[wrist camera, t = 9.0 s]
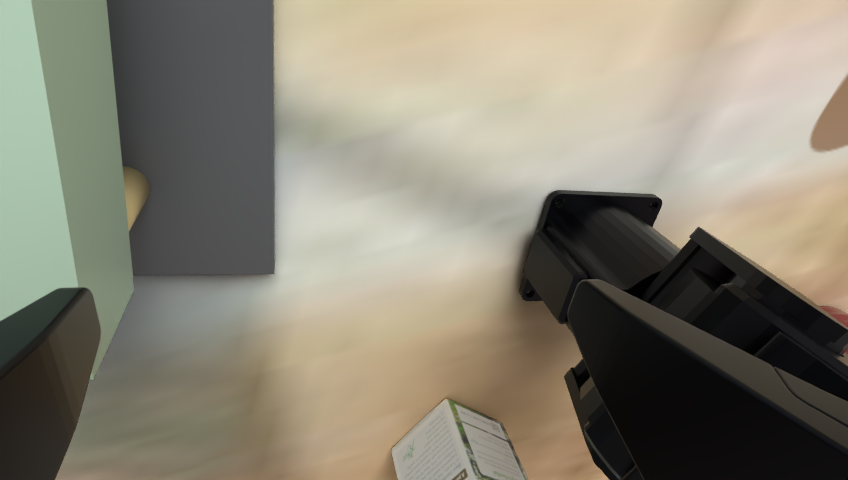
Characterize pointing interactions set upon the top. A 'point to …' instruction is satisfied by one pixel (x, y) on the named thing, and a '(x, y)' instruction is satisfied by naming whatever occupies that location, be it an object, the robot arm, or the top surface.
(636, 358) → the robot arm
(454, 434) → the syrup box
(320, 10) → the top surface
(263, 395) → the top surface
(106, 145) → the board
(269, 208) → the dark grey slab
